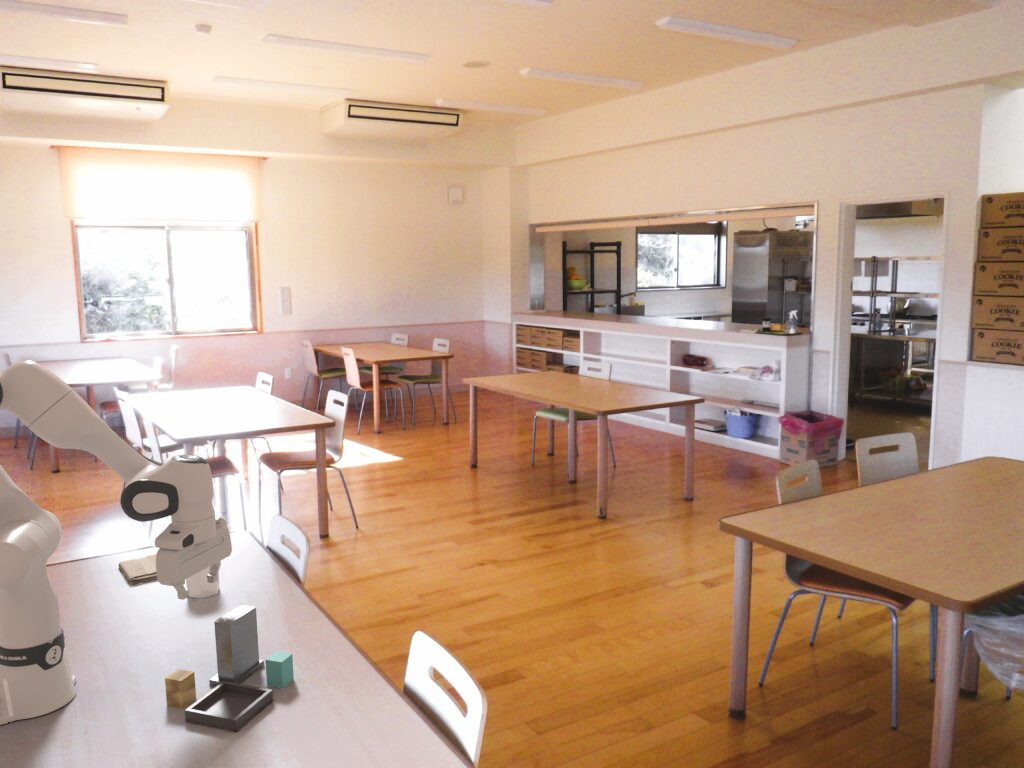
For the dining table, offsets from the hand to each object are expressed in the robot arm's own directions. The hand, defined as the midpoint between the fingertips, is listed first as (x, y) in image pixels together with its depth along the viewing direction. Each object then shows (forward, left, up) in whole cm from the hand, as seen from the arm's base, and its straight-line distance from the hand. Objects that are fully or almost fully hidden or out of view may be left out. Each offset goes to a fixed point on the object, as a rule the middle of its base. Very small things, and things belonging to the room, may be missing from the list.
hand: (198, 589), depth 181 cm
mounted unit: (+8, +1, -19) cm, 21 cm away
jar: (-30, +37, -19) cm, 51 cm away
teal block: (+19, +1, -19) cm, 27 cm away
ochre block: (+4, -12, -19) cm, 23 cm away
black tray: (+16, -12, -19) cm, 28 cm away
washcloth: (-57, +45, -20) cm, 75 cm away
